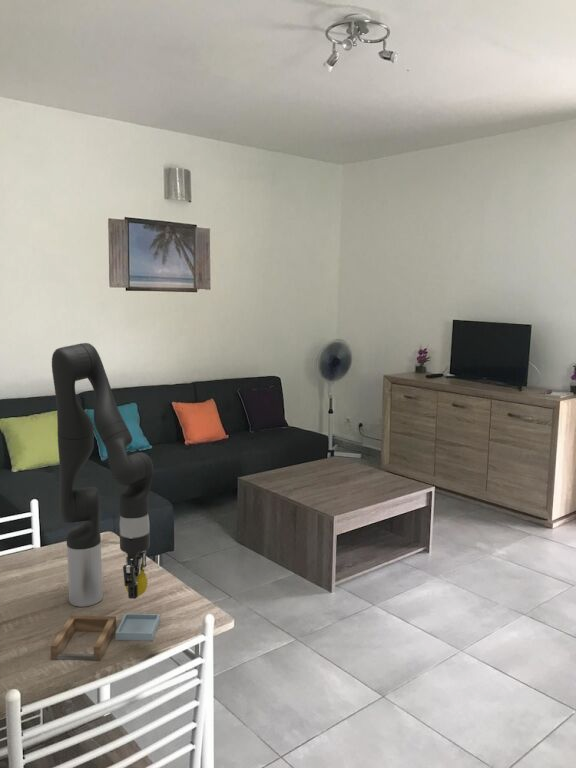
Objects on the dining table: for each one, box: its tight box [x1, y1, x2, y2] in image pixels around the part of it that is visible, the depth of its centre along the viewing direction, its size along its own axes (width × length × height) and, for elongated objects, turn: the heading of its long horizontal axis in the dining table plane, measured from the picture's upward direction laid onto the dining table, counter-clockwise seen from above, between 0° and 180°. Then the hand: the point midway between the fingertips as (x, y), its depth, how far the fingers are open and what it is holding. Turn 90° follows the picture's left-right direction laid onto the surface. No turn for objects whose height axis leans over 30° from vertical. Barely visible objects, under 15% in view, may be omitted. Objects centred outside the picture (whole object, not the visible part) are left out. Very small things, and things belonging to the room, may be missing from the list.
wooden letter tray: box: [50, 615, 117, 661], centre depth 160 cm, size 14×12×4 cm
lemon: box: [125, 570, 148, 598], centre depth 164 cm, size 6×6×8 cm
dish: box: [115, 613, 161, 642], centre depth 167 cm, size 9×9×2 cm
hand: (136, 591), depth 165 cm, fingers closed on lemon, 5 cm apart
